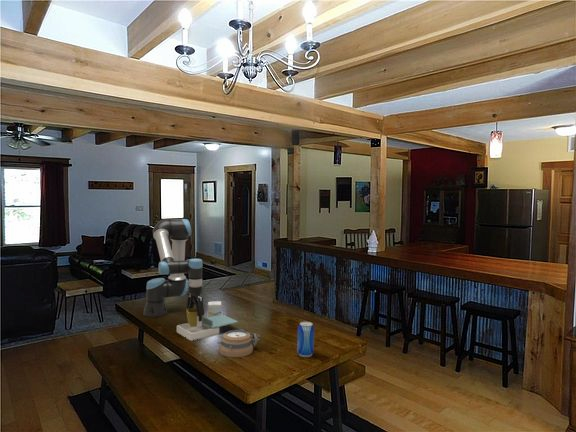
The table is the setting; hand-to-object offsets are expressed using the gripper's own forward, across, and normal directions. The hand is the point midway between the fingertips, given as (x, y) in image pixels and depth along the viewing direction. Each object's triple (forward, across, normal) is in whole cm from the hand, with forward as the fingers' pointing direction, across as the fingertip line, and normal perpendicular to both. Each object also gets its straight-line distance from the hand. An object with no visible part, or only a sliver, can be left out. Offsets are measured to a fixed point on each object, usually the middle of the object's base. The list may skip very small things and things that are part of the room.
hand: (194, 324), depth 222 cm
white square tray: (+6, 0, +2) cm, 6 cm away
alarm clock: (+6, +35, +8) cm, 36 cm away
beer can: (+6, +61, +30) cm, 68 cm away
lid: (+1, 0, +15) cm, 15 cm away
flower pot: (+1, 0, 0) cm, 1 cm away
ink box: (+6, -14, +22) cm, 27 cm away
